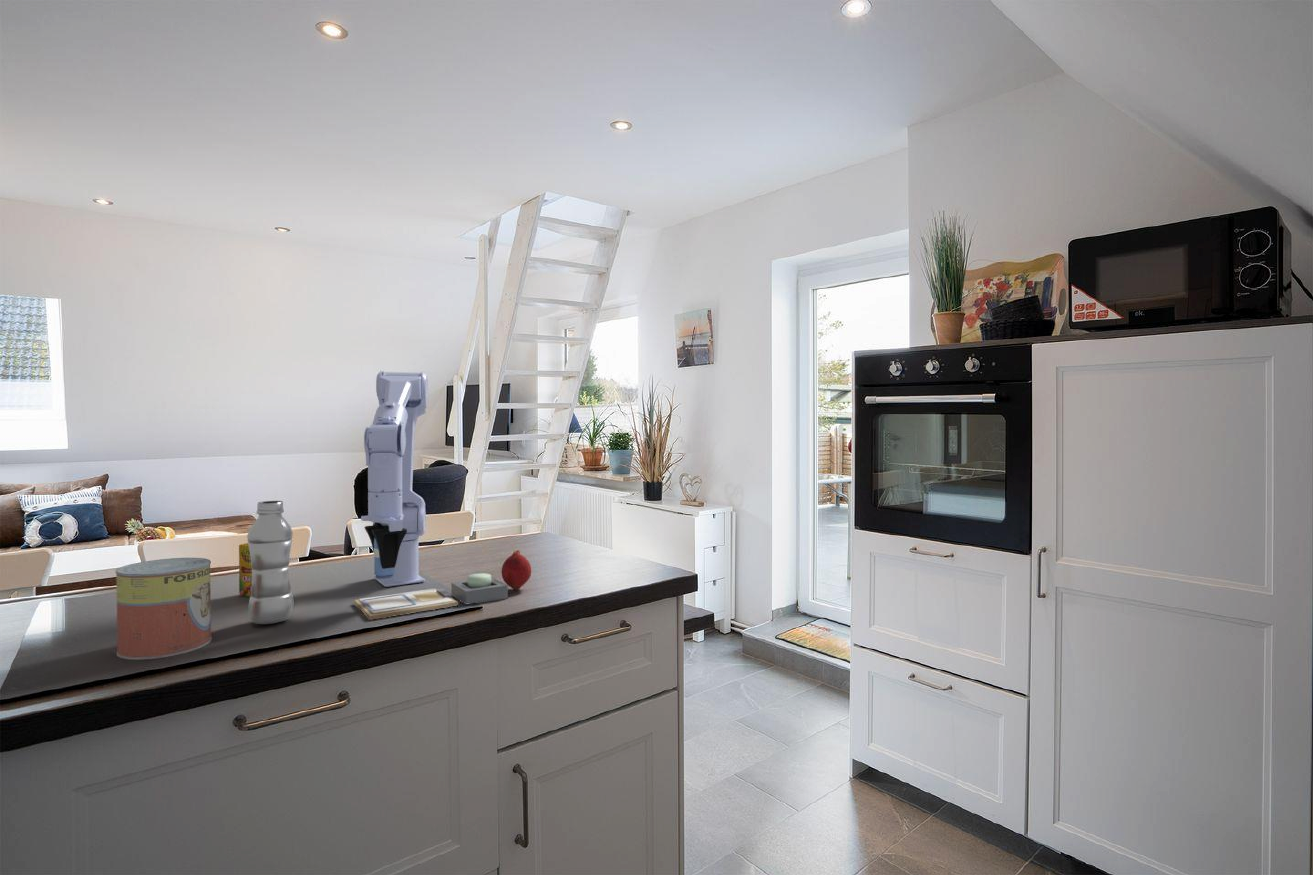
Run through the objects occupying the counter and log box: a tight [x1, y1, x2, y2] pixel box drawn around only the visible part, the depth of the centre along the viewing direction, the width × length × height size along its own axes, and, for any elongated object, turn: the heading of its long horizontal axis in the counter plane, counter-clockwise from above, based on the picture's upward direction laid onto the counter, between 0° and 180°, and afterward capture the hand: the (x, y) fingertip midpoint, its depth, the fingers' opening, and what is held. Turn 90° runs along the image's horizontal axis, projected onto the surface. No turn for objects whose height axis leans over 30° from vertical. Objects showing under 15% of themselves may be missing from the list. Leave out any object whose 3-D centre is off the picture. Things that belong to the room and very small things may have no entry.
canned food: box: [115, 557, 213, 661], centre depth 98 cm, size 11×11×12 cm
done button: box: [466, 572, 492, 589], centre depth 126 cm, size 4×4×2 cm
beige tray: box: [353, 587, 459, 621], centre depth 120 cm, size 12×15×1 cm
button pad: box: [450, 576, 509, 604], centre depth 126 cm, size 8×8×2 cm
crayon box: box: [238, 542, 252, 598], centre depth 126 cm, size 7×3×12 cm, turn 68°
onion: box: [500, 549, 532, 591], centre depth 132 cm, size 6×6×8 cm
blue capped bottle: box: [373, 538, 395, 579], centre depth 120 cm, size 3×3×7 cm
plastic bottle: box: [246, 500, 295, 625], centre depth 109 cm, size 6×7×20 cm
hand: (385, 565), depth 120 cm, fingers closed on blue capped bottle, 3 cm apart
